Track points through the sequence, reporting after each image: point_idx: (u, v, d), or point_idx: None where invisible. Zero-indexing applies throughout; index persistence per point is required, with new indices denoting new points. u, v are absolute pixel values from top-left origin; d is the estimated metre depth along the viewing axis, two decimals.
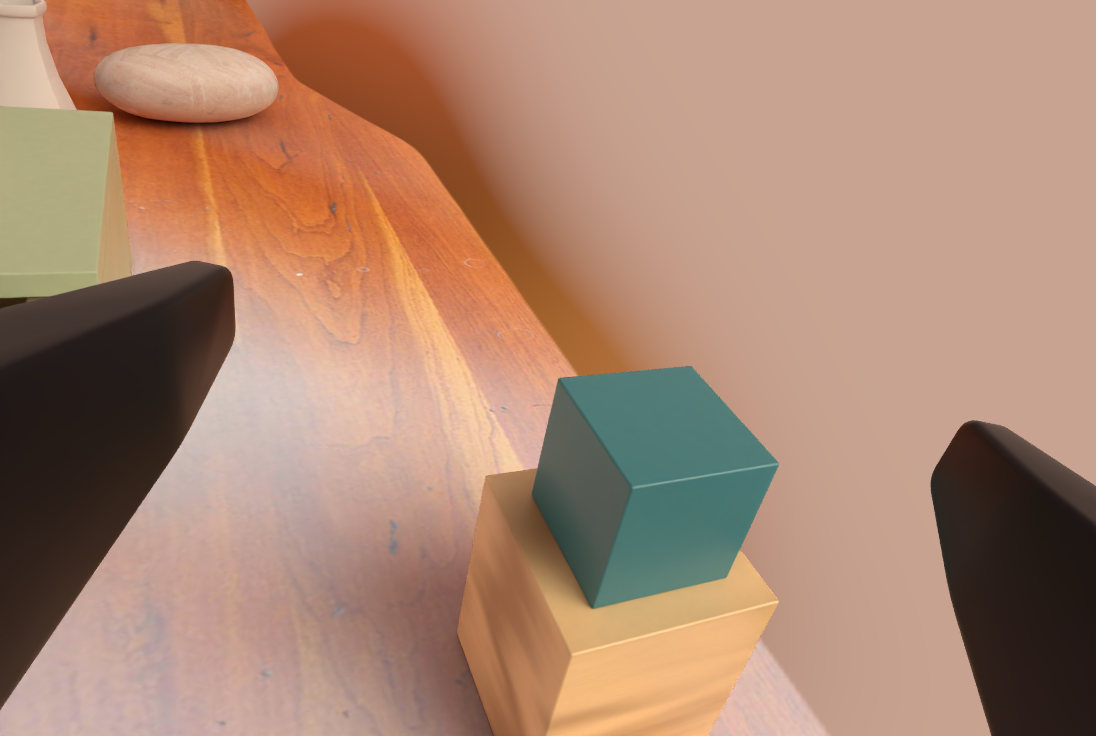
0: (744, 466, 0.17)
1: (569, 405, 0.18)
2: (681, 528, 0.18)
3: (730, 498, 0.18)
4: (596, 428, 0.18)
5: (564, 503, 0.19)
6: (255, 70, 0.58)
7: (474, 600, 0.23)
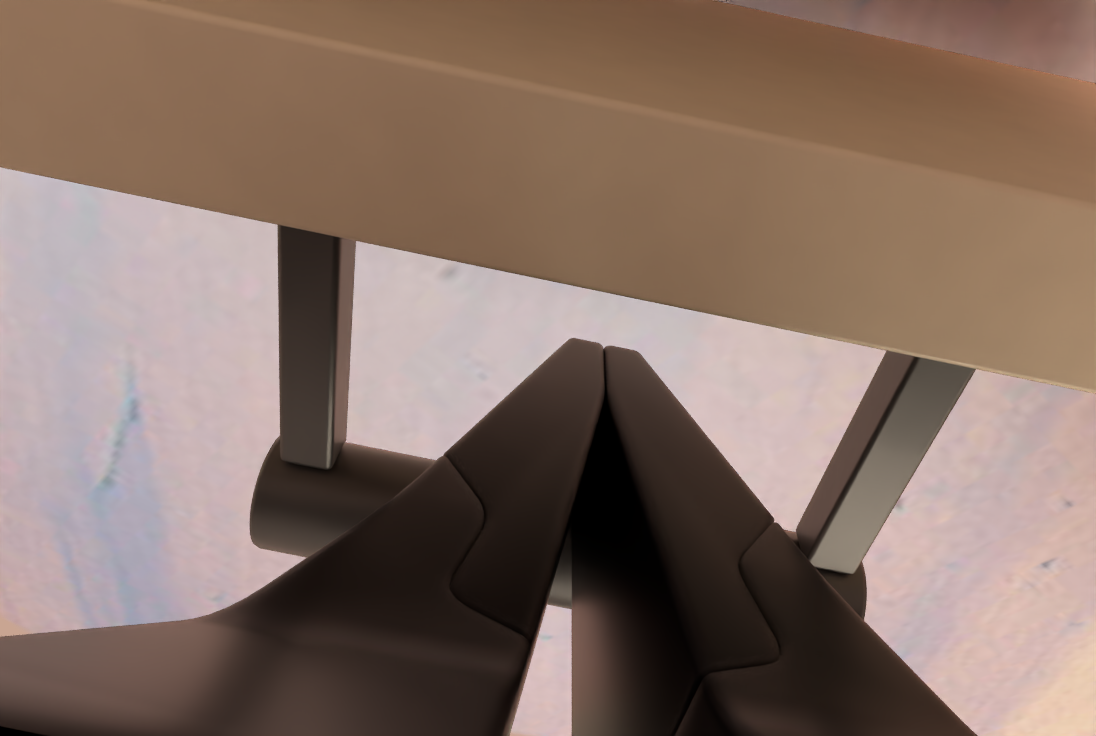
0: None
1: None
2: None
3: None
4: None
5: None
6: None
7: None
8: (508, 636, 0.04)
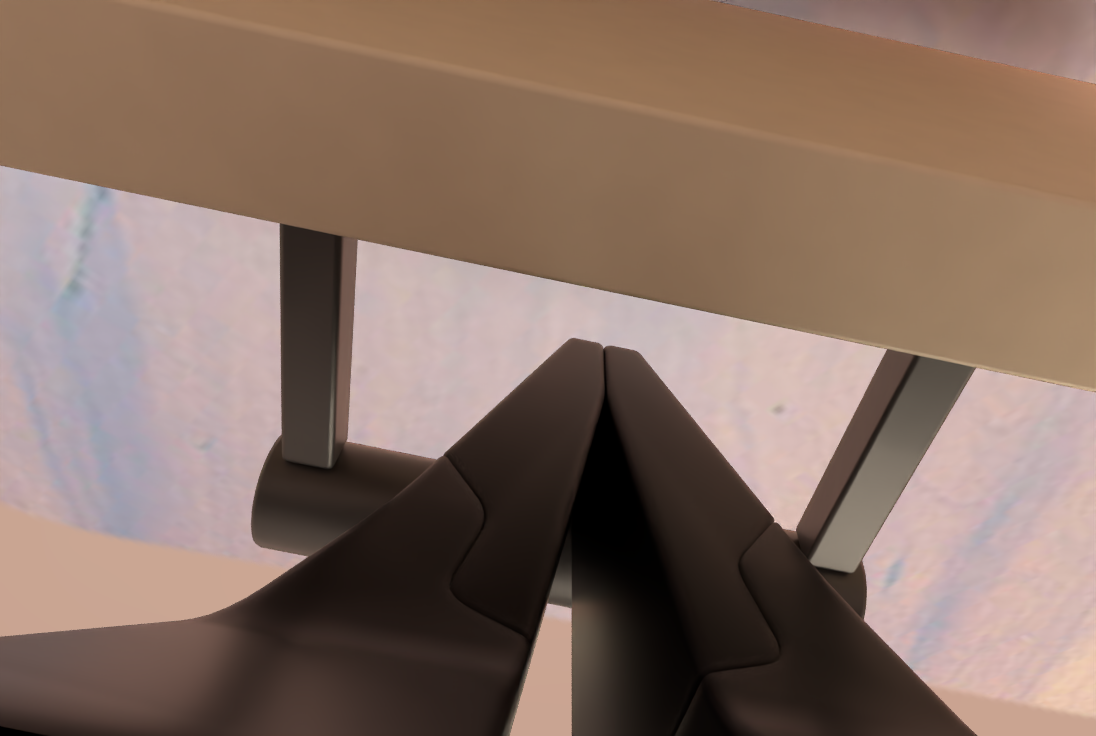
0: None
1: None
2: None
3: None
4: None
5: None
6: None
7: None
8: (508, 636, 0.04)
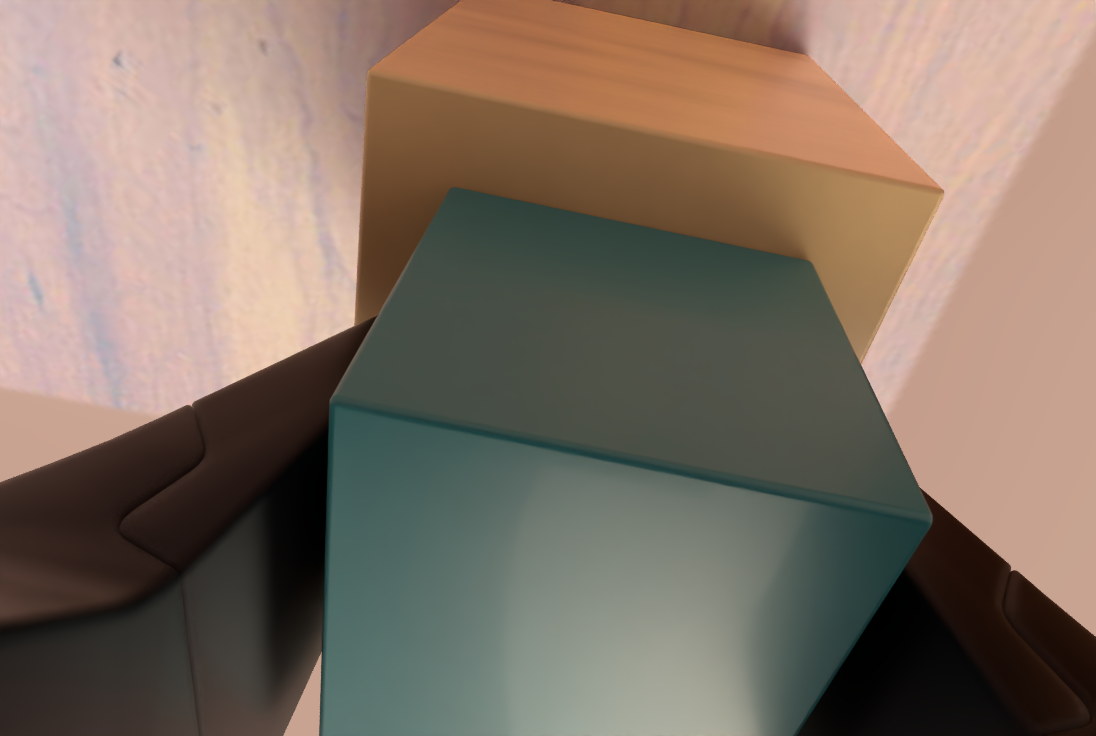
0: None
1: (334, 474, 0.05)
2: None
3: None
4: (335, 610, 0.06)
5: None
6: None
7: None
8: (153, 567, 0.04)
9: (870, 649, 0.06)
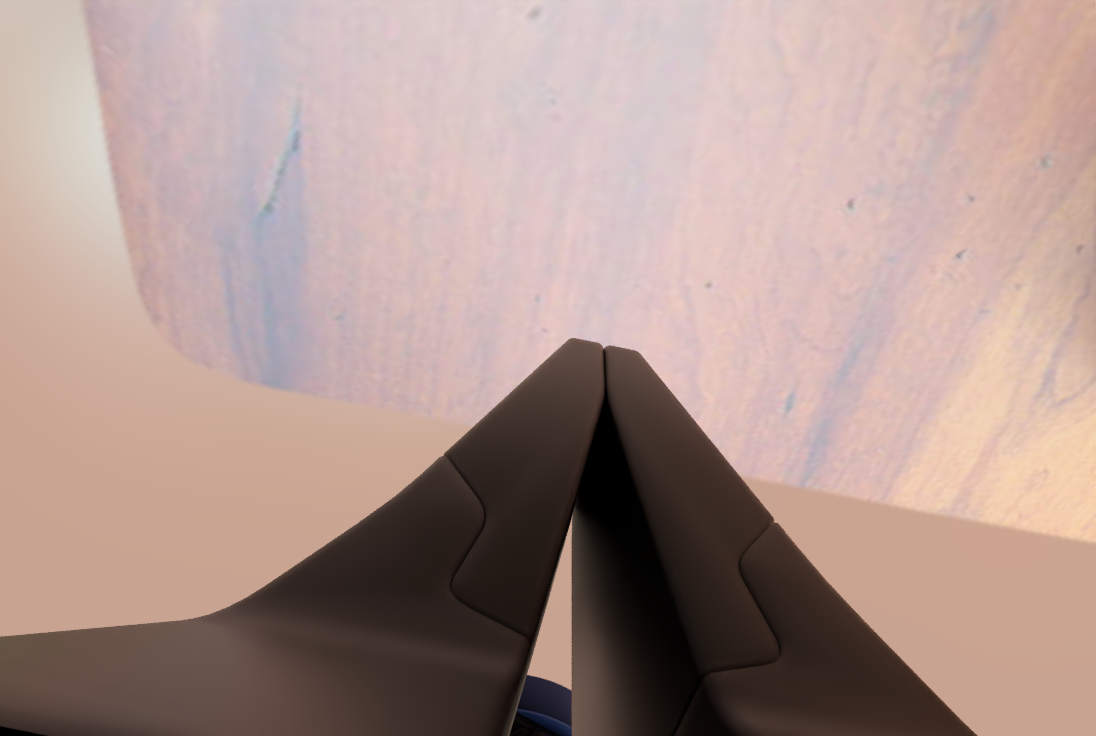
0: None
1: None
2: None
3: None
4: None
5: None
6: None
7: None
8: (508, 636, 0.04)
9: (628, 602, 0.06)
